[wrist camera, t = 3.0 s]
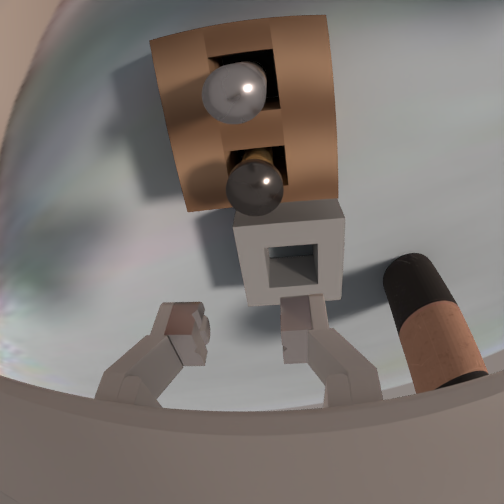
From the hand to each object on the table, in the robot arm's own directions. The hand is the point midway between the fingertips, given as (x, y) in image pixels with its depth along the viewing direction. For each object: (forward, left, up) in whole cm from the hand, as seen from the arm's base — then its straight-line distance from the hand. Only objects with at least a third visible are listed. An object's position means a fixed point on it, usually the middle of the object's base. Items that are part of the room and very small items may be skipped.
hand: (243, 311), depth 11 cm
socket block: (-4, 0, -21) cm, 21 cm away
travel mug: (+18, +17, -21) cm, 33 cm away
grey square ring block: (+11, +2, -21) cm, 24 cm away
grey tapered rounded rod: (-6, 0, -21) cm, 22 cm away
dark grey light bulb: (0, 0, -18) cm, 18 cm away
